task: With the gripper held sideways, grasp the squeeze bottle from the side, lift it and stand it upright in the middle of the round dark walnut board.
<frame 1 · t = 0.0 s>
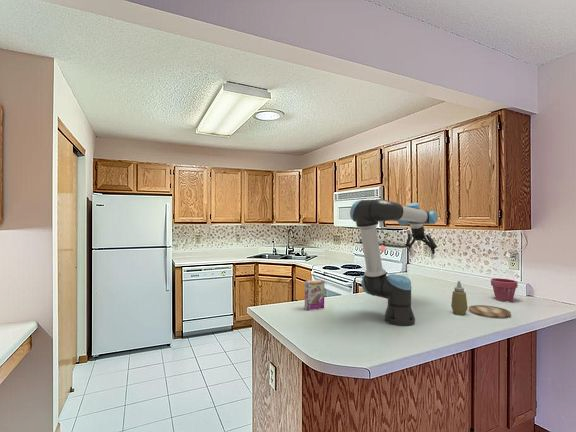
hand: (422, 257, 206), 28 cm above the counter, tool tilted 20°, fingers open, 13 cm apart
candy bar box: (314, 309, 188), on the counter
walnut board: (489, 312, 178), on the counter
figurine: (371, 279, 274), on the counter
squeeze bottle: (459, 313, 177), on the counter
plant pot: (504, 300, 204), on the counter
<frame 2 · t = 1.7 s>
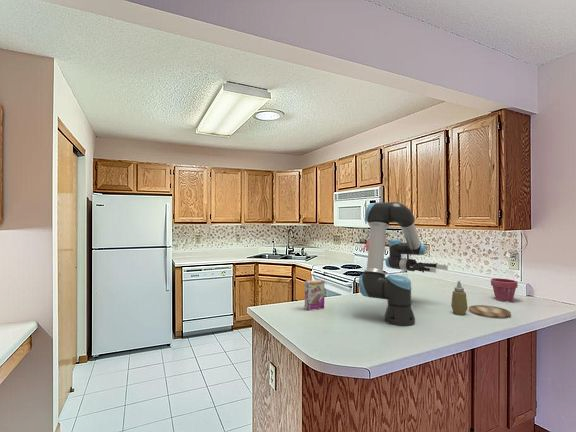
hand: (441, 269, 185), 24 cm above the counter, tool horizontal, fingers open, 13 cm apart
nothing on the counter moved.
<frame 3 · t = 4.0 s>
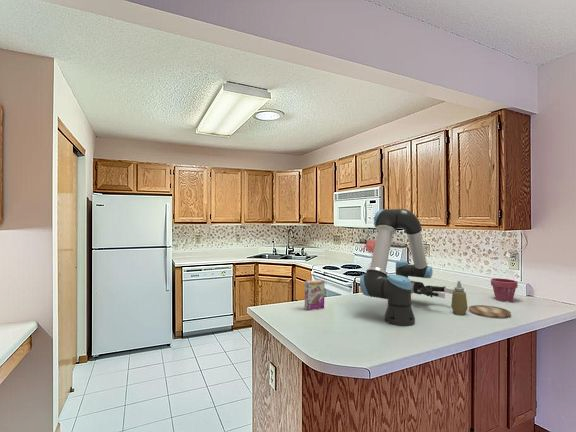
hand: (450, 293, 182), 10 cm above the counter, tool horizontal, fingers open, 13 cm apart
nothing on the counter moved.
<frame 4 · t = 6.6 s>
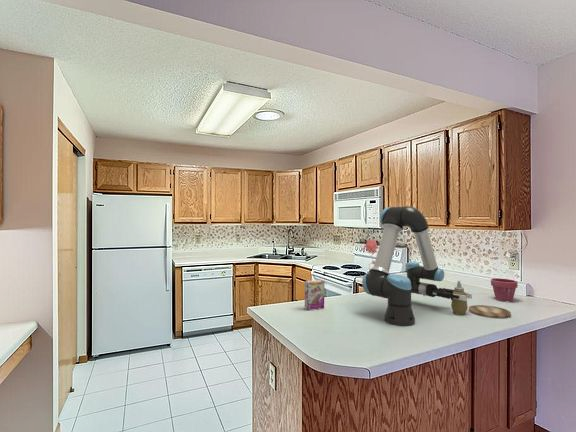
hand: (468, 297, 173), 10 cm above the counter, tool horizontal, fingers closed on squeeze bottle, 6 cm apart
squeeze bottle: (459, 313, 177), on the counter, touching gripper
everything else where it was.
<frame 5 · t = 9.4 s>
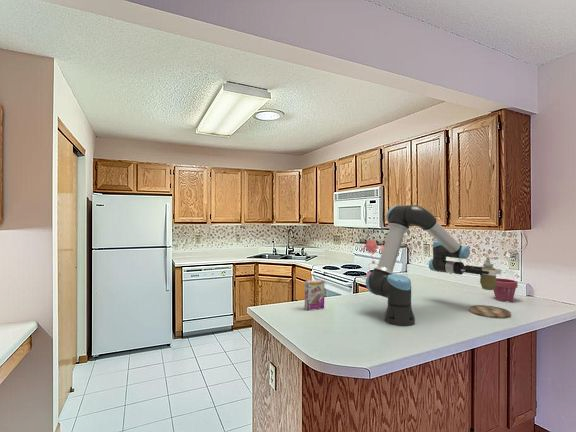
hand: (498, 272, 174), 23 cm above the counter, tool horizontal, fingers closed on squeeze bottle, 6 cm apart
squeeze bottle: (488, 289, 178), point 13 cm above the counter, touching gripper
everything else where it was.
when the fingers open (13 cm above the counter, at t = 12.0 s): squeeze bottle drops 1 cm, resting on walnut board.
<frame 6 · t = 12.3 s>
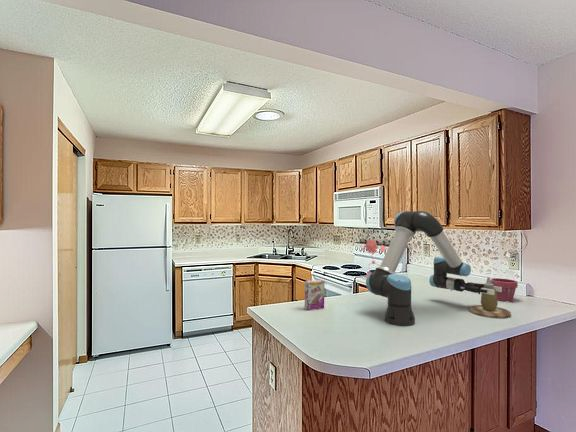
hand: (497, 291, 174), 13 cm above the counter, tool horizontal, fingers open, 9 cm apart
squeeze bottle: (489, 310, 178), point 2 cm above the counter, touching walnut board
everything else where it was.
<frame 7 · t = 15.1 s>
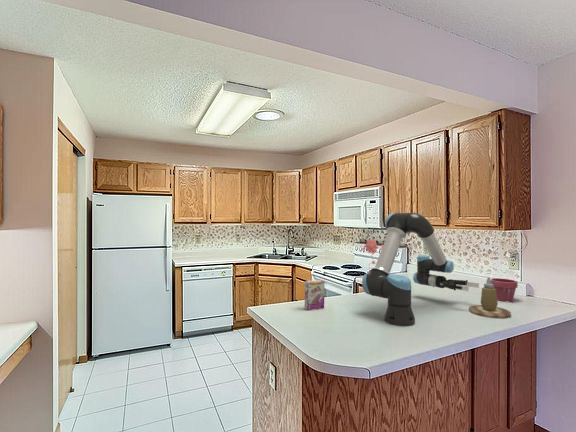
hand: (473, 287, 184), 13 cm above the counter, tool horizontal, fingers open, 13 cm apart
nothing on the counter moved.
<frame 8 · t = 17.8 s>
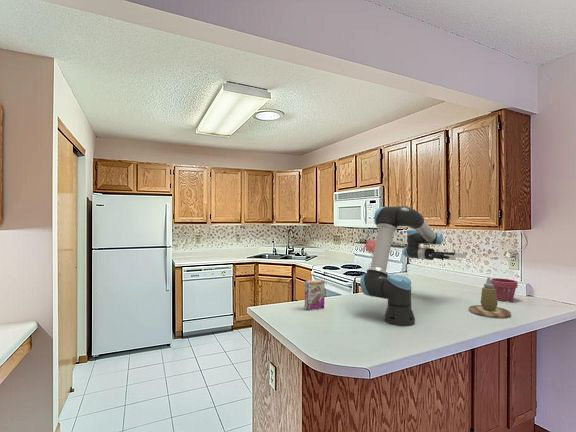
hand: (460, 256, 190), 30 cm above the counter, tool horizontal, fingers open, 13 cm apart
nothing on the counter moved.
at the end: squeeze bottle 0.1 cm from the walnut board (horizontally); squeeze bottle tilted 0°; squeeze bottle touching walnut board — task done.
